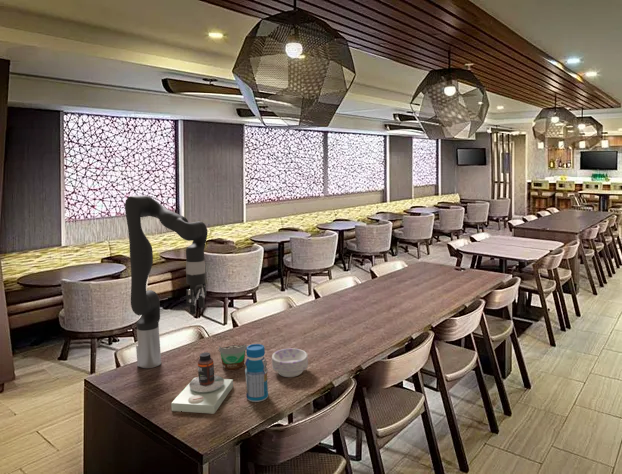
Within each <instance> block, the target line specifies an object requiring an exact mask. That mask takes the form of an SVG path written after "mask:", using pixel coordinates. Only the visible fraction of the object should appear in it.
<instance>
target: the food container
mask: <svg viewBox="0 0 622 474" xmlns="http://www.w3.org/2000/svg"><path fill="white" fill-rule="evenodd" d="M247 346H248V345H247V344H246V342H245V343H244V344H241V345H237V344H236V345H235V344H234V345H229V346H222V347H221V345H219V346H218V352H219V353H220V358H221V365H222V368H223V370H225V371H228V372H229V371H230V372H231V371H238V370H241V369H243V368H244V367H245V363H246V360H245V359H246V349H247Z"/></svg>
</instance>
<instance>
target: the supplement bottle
mask: <svg viewBox="0 0 622 474" xmlns="http://www.w3.org/2000/svg"><path fill="white" fill-rule="evenodd" d="M214 365H215V364H214V359H213V358H212V357H211V353H210V352H201V353H200V354H199V359H198V360H197V372H198V377H199V383H200V384H202V385H209V384H212V383H213V382H214V380H215V377H214V375H215V368H214V367H215V366H214Z"/></svg>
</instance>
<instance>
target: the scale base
mask: <svg viewBox="0 0 622 474" xmlns="http://www.w3.org/2000/svg"><path fill="white" fill-rule="evenodd" d="M195 378H197V377H193V379H195ZM223 379H224V385H223V386H222V387H221V388H220V389H218V390H216V391H212V392H207V393H198V392H194V391H192V390H191V389H190V385H189V384H190V382H189V383H188V384H187V385H186V386H185V388H184V389H183V390H182V391H180V392H179V394H178V395H177V396H176V397H175V398H174V400H173V401H172V402H171V403H170V404H171V405H170V407H171V412H181V411H182V412H183V413H200V414H212V415H213V414H215V413H216V412H217V410H218V409H219V408H220V406H221V405H222V403H223V402H224V400H225V399H226V397H228V395H229V394H230V392H231V390H232V389H233V388H234V379H230V378H223Z"/></svg>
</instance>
